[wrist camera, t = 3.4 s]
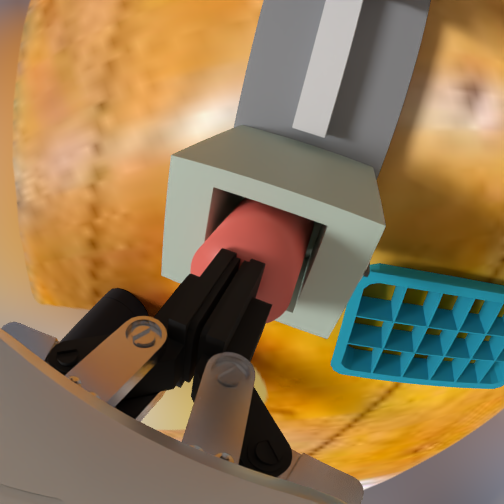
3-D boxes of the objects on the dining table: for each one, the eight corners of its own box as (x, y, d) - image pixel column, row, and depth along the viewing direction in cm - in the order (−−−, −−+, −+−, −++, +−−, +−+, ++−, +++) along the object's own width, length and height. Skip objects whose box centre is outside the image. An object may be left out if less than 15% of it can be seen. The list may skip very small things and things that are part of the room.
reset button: (324, 198, 15) (306, 260, 10) (301, 261, 17) (275, 337, 13) (248, 173, 16) (196, 221, 11) (234, 238, 18) (186, 302, 13)
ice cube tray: (356, 248, 24) (355, 269, 21) (547, 284, 19) (559, 303, 16) (332, 349, 30) (328, 371, 27) (497, 368, 25) (502, 388, 22)
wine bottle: (137, 289, 33) (-32, 500, 9) (156, 332, 36) (19, 530, 12) (100, 286, 36) (-55, 462, 11) (119, 325, 39) (-12, 495, 14)
